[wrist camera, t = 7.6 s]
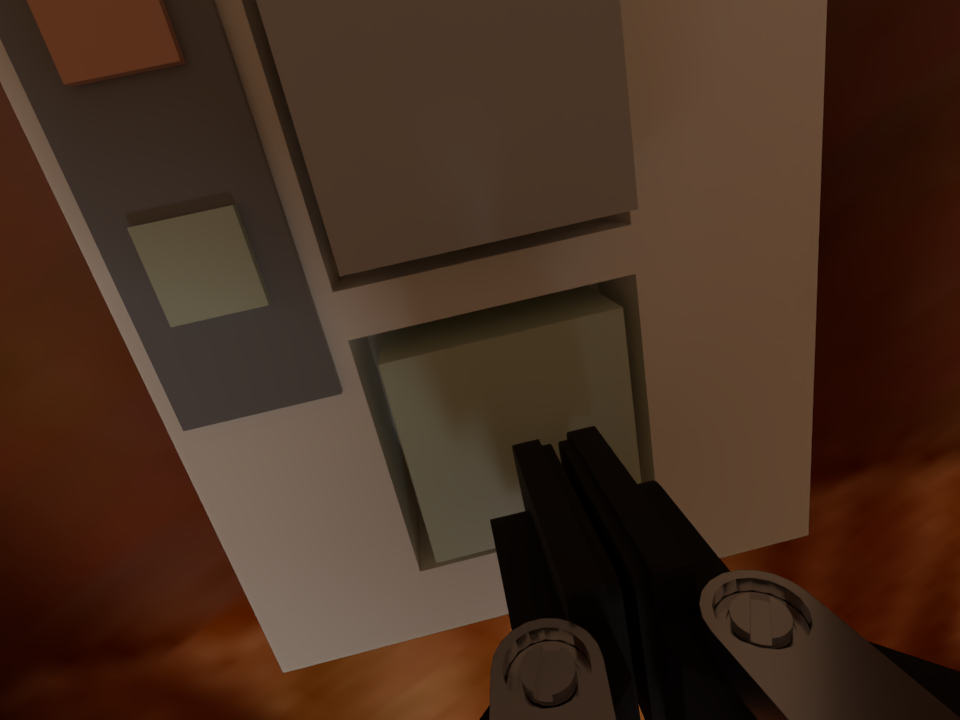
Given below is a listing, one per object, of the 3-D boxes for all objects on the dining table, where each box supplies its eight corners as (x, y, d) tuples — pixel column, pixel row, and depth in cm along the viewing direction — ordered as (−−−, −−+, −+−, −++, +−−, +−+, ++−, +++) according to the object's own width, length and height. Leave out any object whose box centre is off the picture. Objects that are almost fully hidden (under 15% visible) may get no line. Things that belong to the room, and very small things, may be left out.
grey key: (554, -88, 9) (603, -181, 7) (589, 202, 11) (638, 209, 8) (273, -34, 9) (222, -110, 6) (355, 254, 11) (339, 276, 8)
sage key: (583, 283, 13) (623, 307, 10) (606, 455, 14) (644, 510, 12) (384, 329, 12) (378, 365, 10) (432, 499, 14) (436, 563, 12)
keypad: (693, -779, 8) (912, -1520, 5) (730, 465, 17) (819, 545, 13) (-201, -664, 8) (-760, -1432, 4) (309, 572, 16) (279, 687, 12)
